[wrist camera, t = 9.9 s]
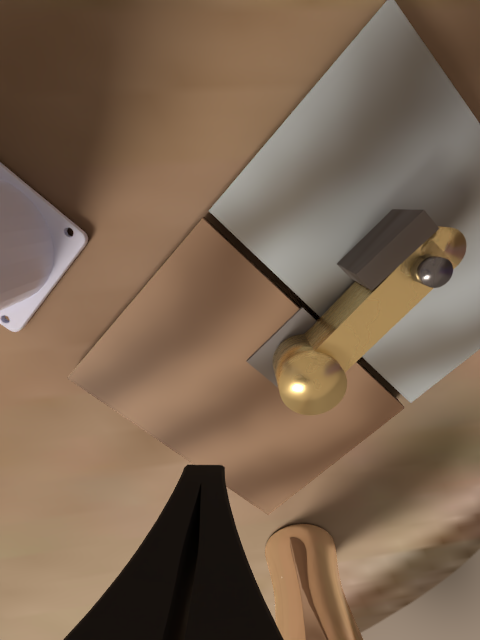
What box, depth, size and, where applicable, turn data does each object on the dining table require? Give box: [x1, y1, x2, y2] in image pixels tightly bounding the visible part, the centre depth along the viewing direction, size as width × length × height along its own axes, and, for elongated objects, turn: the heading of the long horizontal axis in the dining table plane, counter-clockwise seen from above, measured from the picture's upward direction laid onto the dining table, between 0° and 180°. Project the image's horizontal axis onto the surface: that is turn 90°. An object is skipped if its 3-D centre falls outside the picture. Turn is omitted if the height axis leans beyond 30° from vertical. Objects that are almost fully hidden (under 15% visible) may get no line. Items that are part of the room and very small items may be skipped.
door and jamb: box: [67, 0, 480, 515], centre depth 18 cm, size 18×26×4 cm
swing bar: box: [273, 226, 466, 415], centre depth 17 cm, size 12×4×3 cm, turn 140°
